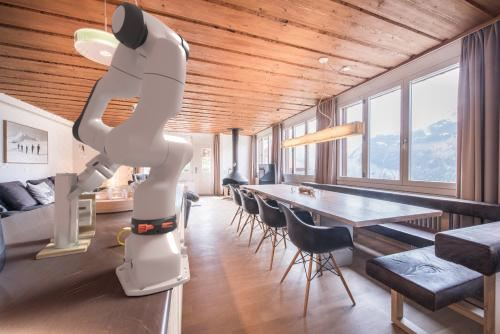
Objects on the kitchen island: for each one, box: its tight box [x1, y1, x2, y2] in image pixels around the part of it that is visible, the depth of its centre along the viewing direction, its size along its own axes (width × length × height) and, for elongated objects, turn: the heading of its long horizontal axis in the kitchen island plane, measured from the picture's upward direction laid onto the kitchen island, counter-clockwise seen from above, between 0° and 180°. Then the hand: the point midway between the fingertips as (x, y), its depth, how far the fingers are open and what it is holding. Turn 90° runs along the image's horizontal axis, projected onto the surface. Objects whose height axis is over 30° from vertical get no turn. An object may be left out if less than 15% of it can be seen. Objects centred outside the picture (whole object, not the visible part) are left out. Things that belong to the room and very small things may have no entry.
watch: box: [116, 226, 131, 246], centre depth 79 cm, size 6×3×6 cm, turn 129°
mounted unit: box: [49, 193, 97, 244], centre depth 86 cm, size 7×13×17 cm, turn 120°
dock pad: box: [35, 238, 92, 260], centre depth 73 cm, size 12×12×1 cm
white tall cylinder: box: [53, 172, 80, 249], centre depth 74 cm, size 6×6×25 cm
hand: (65, 198), depth 73 cm, fingers open, 8 cm apart
